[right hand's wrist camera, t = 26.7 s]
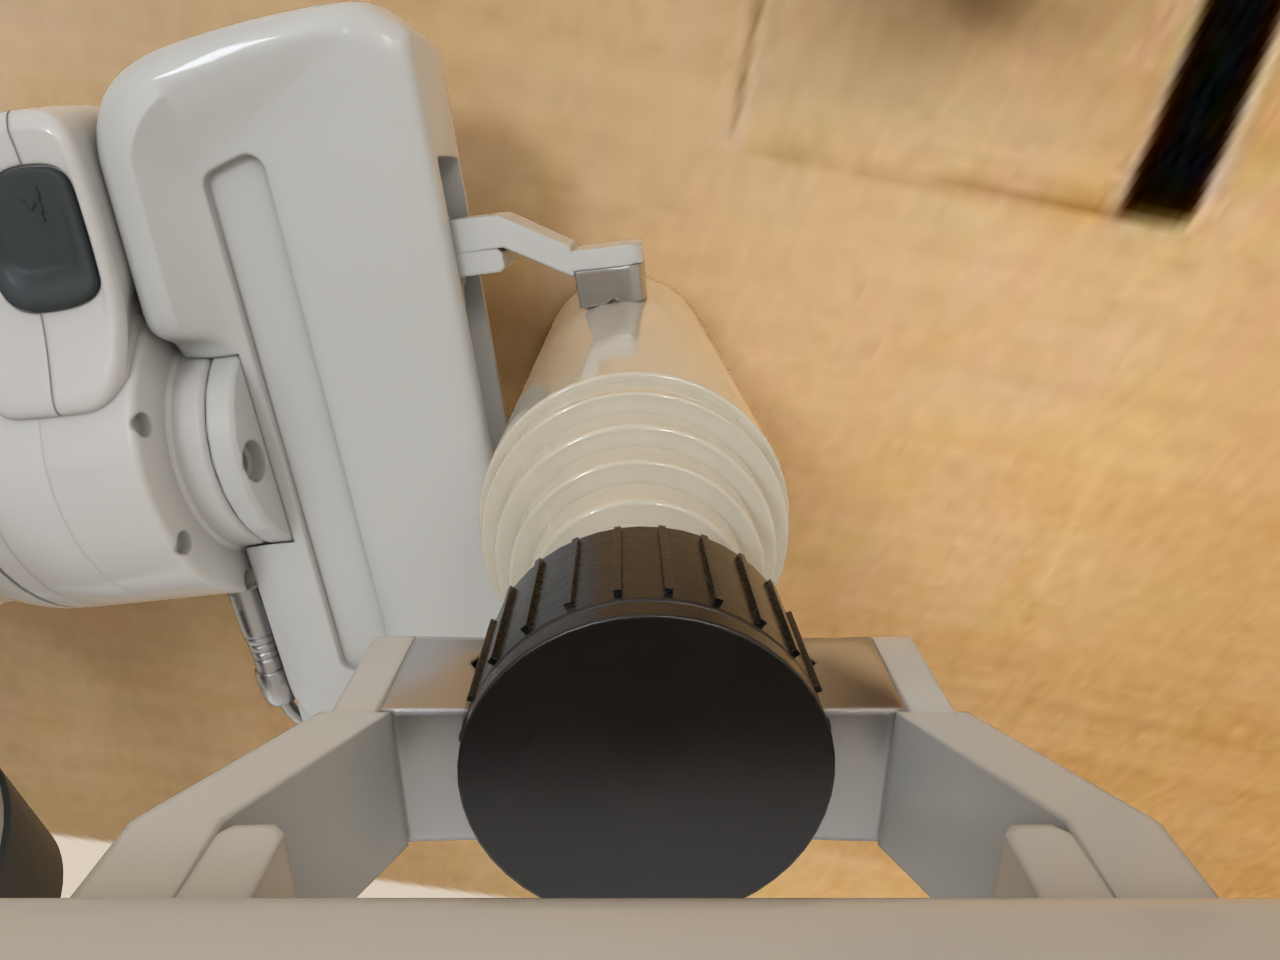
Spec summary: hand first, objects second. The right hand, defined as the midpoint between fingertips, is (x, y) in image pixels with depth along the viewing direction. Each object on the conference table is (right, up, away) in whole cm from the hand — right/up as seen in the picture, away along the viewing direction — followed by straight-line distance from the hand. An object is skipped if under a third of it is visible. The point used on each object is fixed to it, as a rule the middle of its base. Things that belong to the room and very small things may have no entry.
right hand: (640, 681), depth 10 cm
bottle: (0, +7, +17) cm, 19 cm away
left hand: (0, +5, +12) cm, 13 cm away
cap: (0, 0, -2) cm, 2 cm away
